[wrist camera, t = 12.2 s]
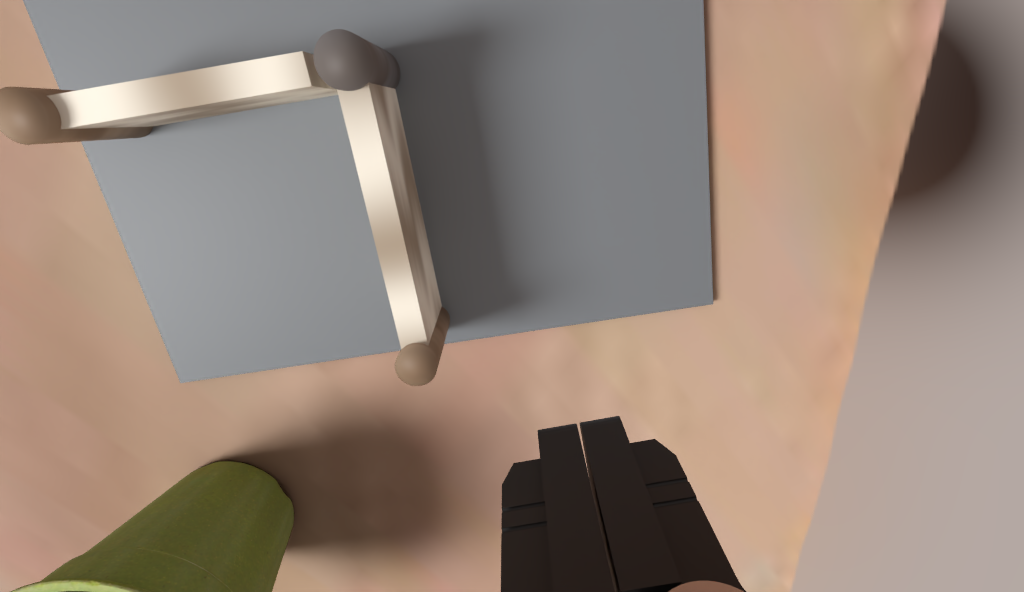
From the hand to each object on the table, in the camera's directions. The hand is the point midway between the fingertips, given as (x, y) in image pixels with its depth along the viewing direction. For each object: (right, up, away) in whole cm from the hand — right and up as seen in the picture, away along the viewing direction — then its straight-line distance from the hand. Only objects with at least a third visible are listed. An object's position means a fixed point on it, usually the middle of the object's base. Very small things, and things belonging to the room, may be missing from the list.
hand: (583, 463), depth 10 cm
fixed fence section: (-14, +13, +15) cm, 24 cm away
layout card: (-7, +11, +16) cm, 21 cm away
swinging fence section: (-7, +8, +16) cm, 19 cm away
